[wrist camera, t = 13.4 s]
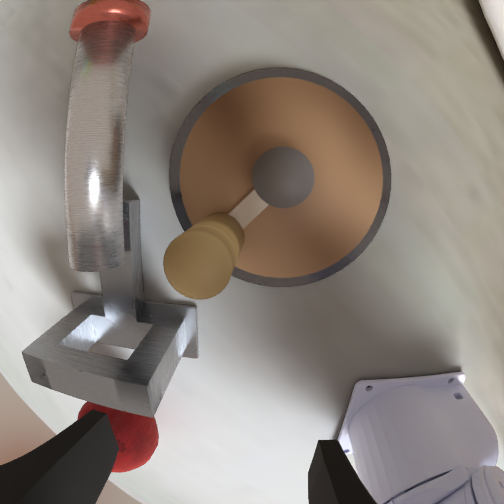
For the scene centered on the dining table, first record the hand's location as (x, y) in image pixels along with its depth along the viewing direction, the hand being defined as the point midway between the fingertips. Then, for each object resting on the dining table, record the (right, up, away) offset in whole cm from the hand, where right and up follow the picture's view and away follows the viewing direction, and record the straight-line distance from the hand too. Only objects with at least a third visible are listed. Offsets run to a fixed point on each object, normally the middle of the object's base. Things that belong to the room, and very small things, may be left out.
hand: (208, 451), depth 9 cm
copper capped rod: (-6, +13, +6) cm, 16 cm away
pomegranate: (-8, -5, +12) cm, 15 cm away
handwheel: (+3, +11, +7) cm, 13 cm away
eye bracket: (-6, +5, +9) cm, 12 cm away
